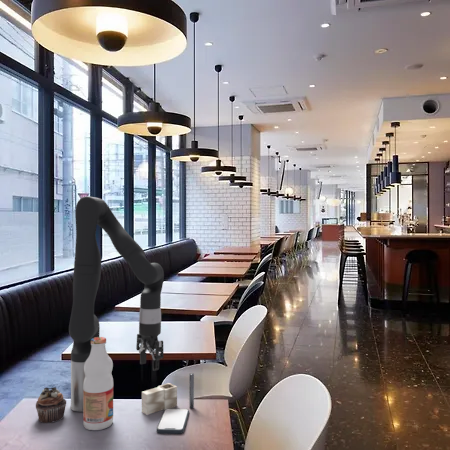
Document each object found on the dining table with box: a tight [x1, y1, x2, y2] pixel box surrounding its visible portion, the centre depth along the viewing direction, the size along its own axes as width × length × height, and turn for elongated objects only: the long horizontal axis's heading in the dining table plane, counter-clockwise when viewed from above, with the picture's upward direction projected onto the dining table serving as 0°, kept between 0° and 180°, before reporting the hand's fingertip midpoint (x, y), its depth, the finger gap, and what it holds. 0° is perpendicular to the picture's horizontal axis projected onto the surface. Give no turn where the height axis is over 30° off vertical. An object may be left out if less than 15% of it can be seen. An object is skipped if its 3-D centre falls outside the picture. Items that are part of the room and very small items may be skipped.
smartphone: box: [156, 408, 190, 435], centre depth 139 cm, size 9×2×16 cm
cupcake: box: [35, 386, 67, 424], centre depth 142 cm, size 10×10×10 cm
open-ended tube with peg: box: [141, 382, 178, 416], centre depth 149 cm, size 12×5×7 cm, turn 131°
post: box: [188, 372, 195, 409], centre depth 150 cm, size 2×2×12 cm
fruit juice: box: [82, 336, 114, 431], centre depth 138 cm, size 9×9×28 cm
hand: (149, 366), depth 147 cm, fingers open, 8 cm apart
